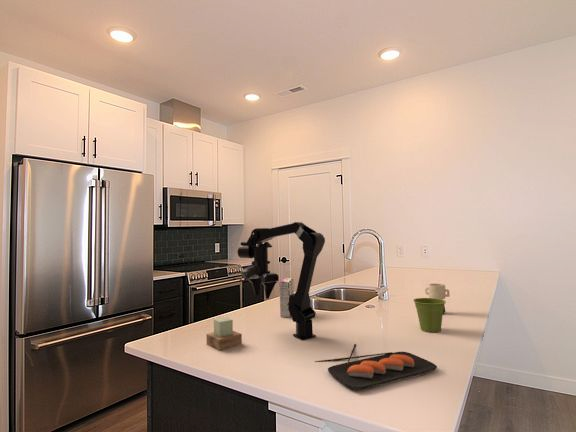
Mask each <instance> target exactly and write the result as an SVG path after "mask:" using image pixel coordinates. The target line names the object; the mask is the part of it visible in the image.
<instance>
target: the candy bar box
mask: <svg viewBox="0 0 576 432" xmlns="http://www.w3.org/2000/svg"><path fill="white" fill-rule="evenodd" d="M278 284H279V285H278V287H279V288H278V289H279V308H280V312H279V313H280V318H292V317H291V314H290V312H289V311H288V306H289V305H287V304H288V302H289V296H290V295H291V294H295V290H294V289H295V288H294V287H295V285H294V278H292V277H289V278H288V277H287V278H283V279H281V281H280V280H279V281H278Z"/></svg>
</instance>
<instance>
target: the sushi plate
mask: <svg viewBox="0 0 576 432" xmlns="http://www.w3.org/2000/svg"><path fill="white" fill-rule="evenodd" d="M356 347H357V343H354V345H353V347H352V350H351V353H350V356H347V357H340V358H339V357H338V358H331V359H322V360H315V361H314V363H324V362H325V363H326V362H327V363H328V362H337V361H345V360H348V361H347V362H343V363H340V364H335V365H332V366H329V367H328V368H327V372H328V373H329V374H330V375H331V376H332V377H334V378H335V379H337V381H339V382H340V383H342V384H343V385H345V386H347V388H351V389H353V390H362V389H366V388H372V387H375V386H379V385H383V384H387V383H390V382H394V381H398V380H403V379H406V378H410V377H414V376H418V375H421V374H426V373H430V372H433V371H435V370H437V368H438V367H437V365H436V364H435V363H434V362H431V361H430V360H427V359H425V358H423V357H420V356H418V355H416V354H413V353H411V352H407V351H394V352H393V351H391V352H382V353H381V352H380V353H374V354H365V355H357V356H356V355H355V356H353V354H354V352H355V349H356ZM359 358H362V359H359ZM353 359H357V360H354V361H351V360H353Z"/></svg>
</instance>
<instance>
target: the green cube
mask: <svg viewBox="0 0 576 432" xmlns="http://www.w3.org/2000/svg"><path fill="white" fill-rule="evenodd" d="M233 320H234V319H231V317H230V318H229V317H227V316H225V317H219V318H214V319H213V332H214V334H216V335H217V336H219V337H221V336H226V335H231V334H233V331H234V330H233V328H234V325H233V324H234V321H233Z"/></svg>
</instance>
